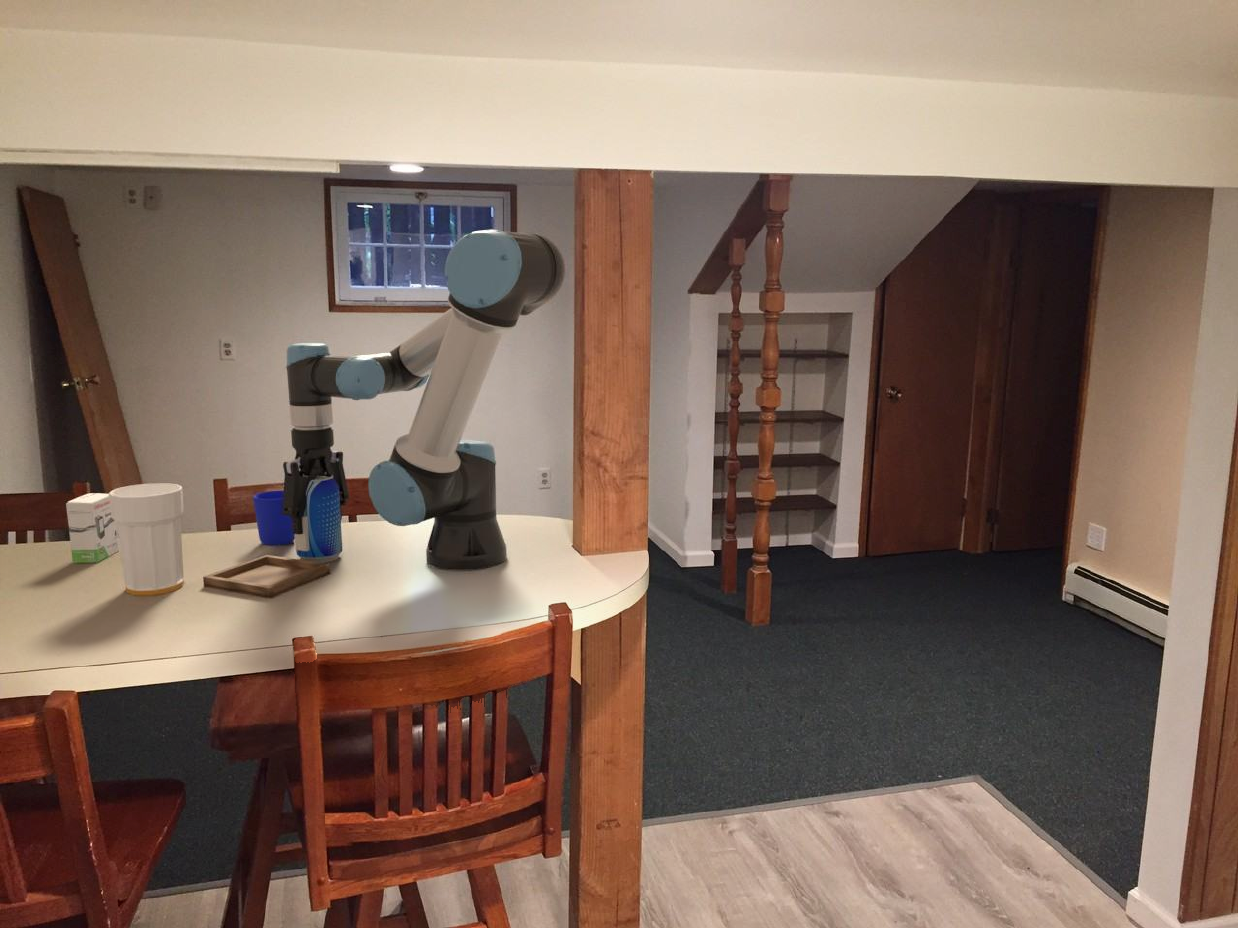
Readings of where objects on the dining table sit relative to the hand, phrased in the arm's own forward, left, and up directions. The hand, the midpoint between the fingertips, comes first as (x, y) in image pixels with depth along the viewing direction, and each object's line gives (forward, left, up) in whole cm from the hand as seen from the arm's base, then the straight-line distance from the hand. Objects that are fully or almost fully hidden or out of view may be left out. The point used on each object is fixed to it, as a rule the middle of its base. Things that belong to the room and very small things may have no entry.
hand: (319, 543), depth 186 cm
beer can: (0, 0, -3) cm, 3 cm away
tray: (-1, +14, -3) cm, 15 cm away
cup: (+14, +26, -3) cm, 29 cm away
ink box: (+40, +17, -3) cm, 44 cm away
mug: (+16, -7, -3) cm, 18 cm away
